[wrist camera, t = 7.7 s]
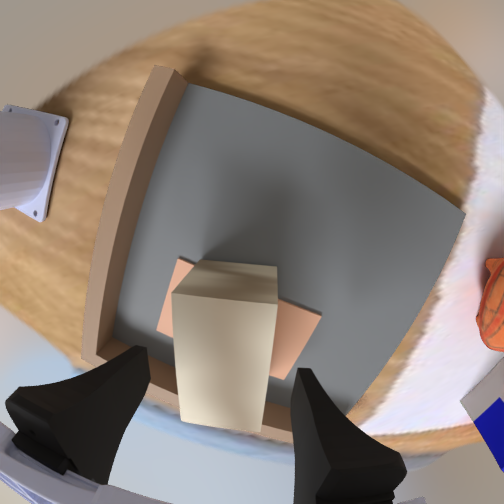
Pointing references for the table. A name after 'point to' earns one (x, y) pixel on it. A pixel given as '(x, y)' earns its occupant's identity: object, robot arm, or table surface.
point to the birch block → (224, 342)
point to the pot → (493, 307)
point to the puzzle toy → (489, 410)
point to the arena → (262, 240)
